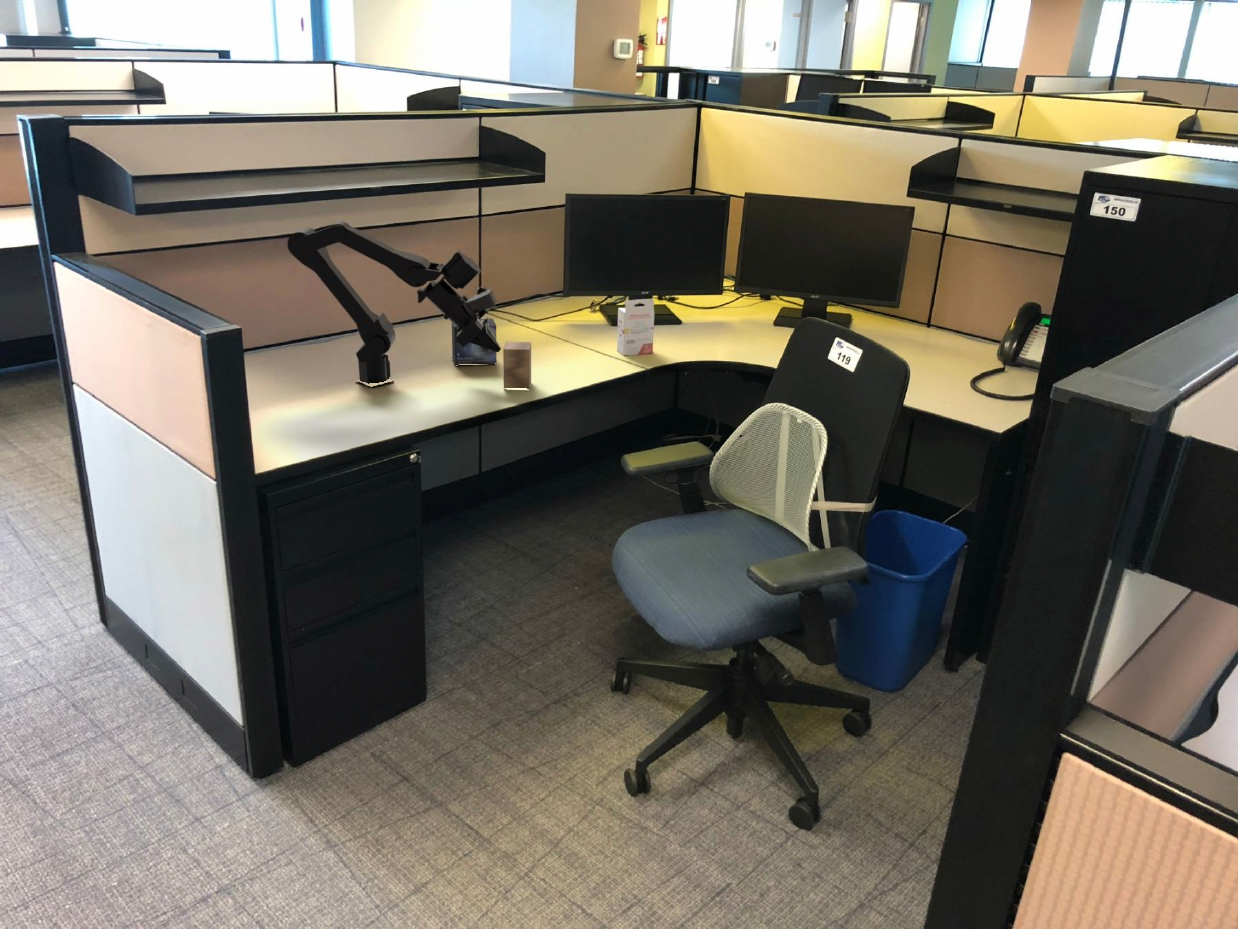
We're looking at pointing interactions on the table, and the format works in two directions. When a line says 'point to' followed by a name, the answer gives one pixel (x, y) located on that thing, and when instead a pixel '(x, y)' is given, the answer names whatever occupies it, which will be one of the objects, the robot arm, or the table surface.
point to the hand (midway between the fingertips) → (499, 350)
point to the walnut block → (517, 364)
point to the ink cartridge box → (636, 327)
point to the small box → (473, 349)
